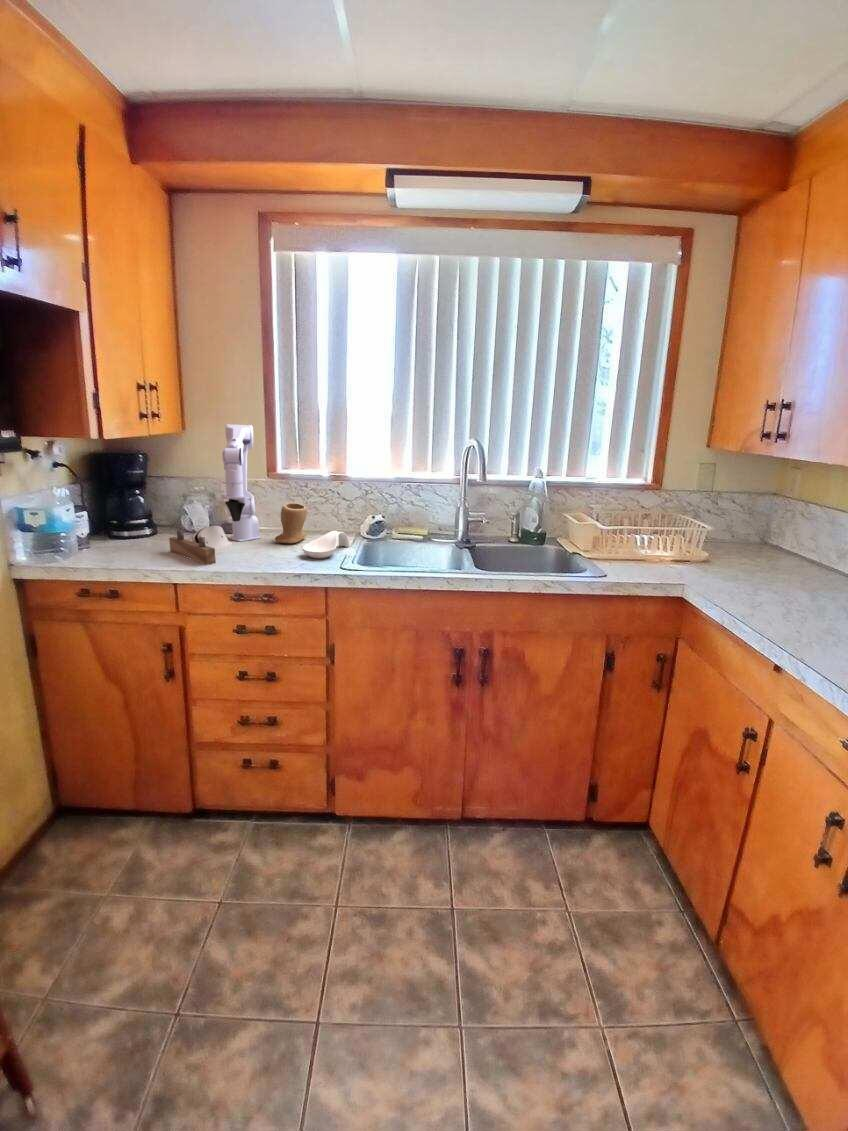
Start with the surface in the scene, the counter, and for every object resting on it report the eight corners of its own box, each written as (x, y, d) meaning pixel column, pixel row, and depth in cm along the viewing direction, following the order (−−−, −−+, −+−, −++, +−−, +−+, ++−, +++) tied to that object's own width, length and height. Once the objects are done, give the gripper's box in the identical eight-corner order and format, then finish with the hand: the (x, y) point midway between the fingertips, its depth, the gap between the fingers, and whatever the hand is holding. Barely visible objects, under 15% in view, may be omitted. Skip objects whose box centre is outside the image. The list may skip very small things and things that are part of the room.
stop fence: (178, 550, 199) (176, 528, 197) (215, 563, 185) (214, 539, 183) (170, 551, 197) (168, 529, 195) (207, 564, 182) (205, 540, 180)
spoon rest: (325, 562, 191) (325, 542, 189) (295, 558, 195) (295, 538, 193) (357, 548, 213) (357, 530, 211) (330, 545, 217) (330, 526, 215)
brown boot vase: (300, 546, 212) (299, 507, 208) (270, 544, 214) (269, 505, 210) (315, 538, 226) (314, 501, 222) (287, 536, 228) (286, 499, 224)
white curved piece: (210, 557, 192) (199, 529, 190) (198, 561, 193) (187, 533, 191) (233, 546, 208) (223, 521, 206) (222, 550, 209) (212, 524, 207)
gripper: (212, 481, 199) (215, 519, 203) (236, 485, 190) (238, 525, 194) (230, 480, 204) (232, 517, 208) (253, 484, 196) (255, 522, 199)
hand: (236, 520), depth 201 cm, fingers closed
